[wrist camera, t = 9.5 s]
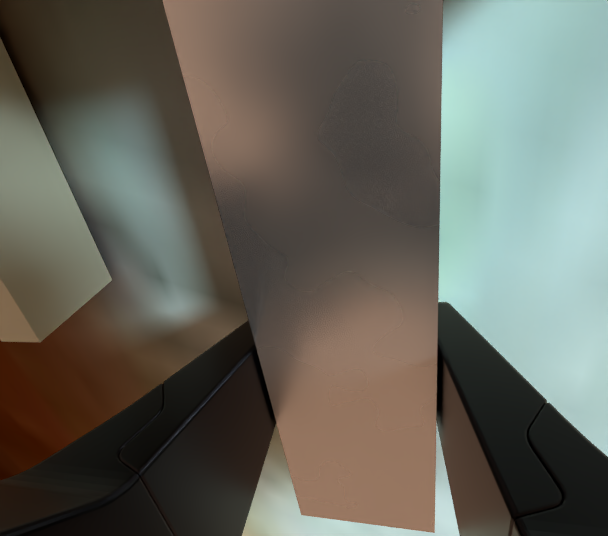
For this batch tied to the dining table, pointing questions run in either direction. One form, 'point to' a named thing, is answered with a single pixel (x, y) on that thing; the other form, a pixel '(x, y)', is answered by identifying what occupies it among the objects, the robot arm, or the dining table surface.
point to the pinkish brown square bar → (332, 230)
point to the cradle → (38, 226)
